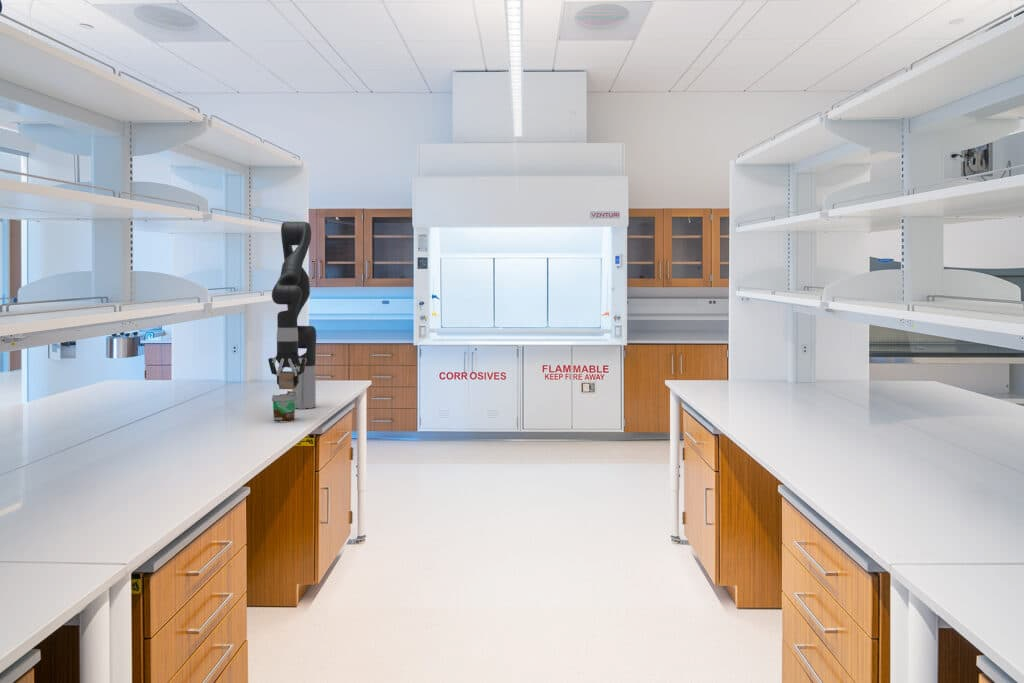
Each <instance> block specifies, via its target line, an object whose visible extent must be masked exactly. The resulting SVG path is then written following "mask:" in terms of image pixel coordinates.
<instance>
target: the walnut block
mask: <svg viewBox="0 0 1024 683" xmlns="http://www.w3.org/2000/svg"><path fill="white" fill-rule="evenodd" d="M294 388H296V386H294V373H293V371H292V370H291V371H289V370H288V371H285V370H283V371H282V372H280V373H279V385H278V389H279V390H292V389H294Z"/></svg>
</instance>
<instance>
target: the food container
mask: <svg viewBox="0 0 1024 683" xmlns="http://www.w3.org/2000/svg"><path fill="white" fill-rule="evenodd" d="M296 399H297V394H296V392H293V391H292V390H290V391H289V390H288V391H287V392H286V393H284V394H283V393H282V394H273V395H272V397H271V402H272V408H273V410H272V412H273V422H274V421H288V422H292V421H291V420H293V421H294V420H295V413H296V408H295V400H296Z"/></svg>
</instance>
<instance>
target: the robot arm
mask: <svg viewBox="0 0 1024 683" xmlns="http://www.w3.org/2000/svg"><path fill="white" fill-rule="evenodd" d="M311 228H312V227H311V225H310V223H309V222H307V221H283V222H282V224H281V227H280V235H281V237H280V238H281V244H282V251H283V260H284V262H283V263H282V266H281V272H280V276H279V278H278V280H277V281H276V283H275V285H274V286H273V287H272V291H271V300H272V301H273V303H274V304H275V305H276V304H277V305H286V307H287V310H283V311H279V312H278V313H277V317H276V318H277V319H276V320H277V325H276V326H277V330H276V354H275V357H268V359H267V360H268V365H269V368H270V373H271V375H275V376H276V384H277V385H278V386H279V373H280V372H282V371H284V369H285V368H289V369H291V371H293V373H294V386H296V388H294V389H291V391H293V392H296V394H297V399H296V400H295V409H296V408H298V409H299V410H306V408H308V409H314V408H316V407H317V403H316V400H317V399H316V395H317V393H316V391H317V390H316V388H317V387H316V381H317V379H316V378H317V377H316V373H317V372H316V357H317V356H316V354H317V353H316V351H317V329H316V328H315V326H314V325H313V326H312V325H298V318H299V315H300V313H301V311H302V309H303V308H304V306H305V305H306V303H307V302H308V299H309V297H310V294H311V288H310V286H311V285H310V277H309V275H308V273H307V272H306V270H305V269H304V266H303V263H304V261H305V258H306V256H307V254H308V250H309V247H310V244H311V241H312V229H311ZM293 246H297V247H296V248H295V249H294V250H293ZM299 349H301V350H303V349H306V351H305V353H302V354H301V355H299ZM276 361H277V363H278V364H279V365H278V367H277V368H276ZM313 407H314V408H313Z"/></svg>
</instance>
